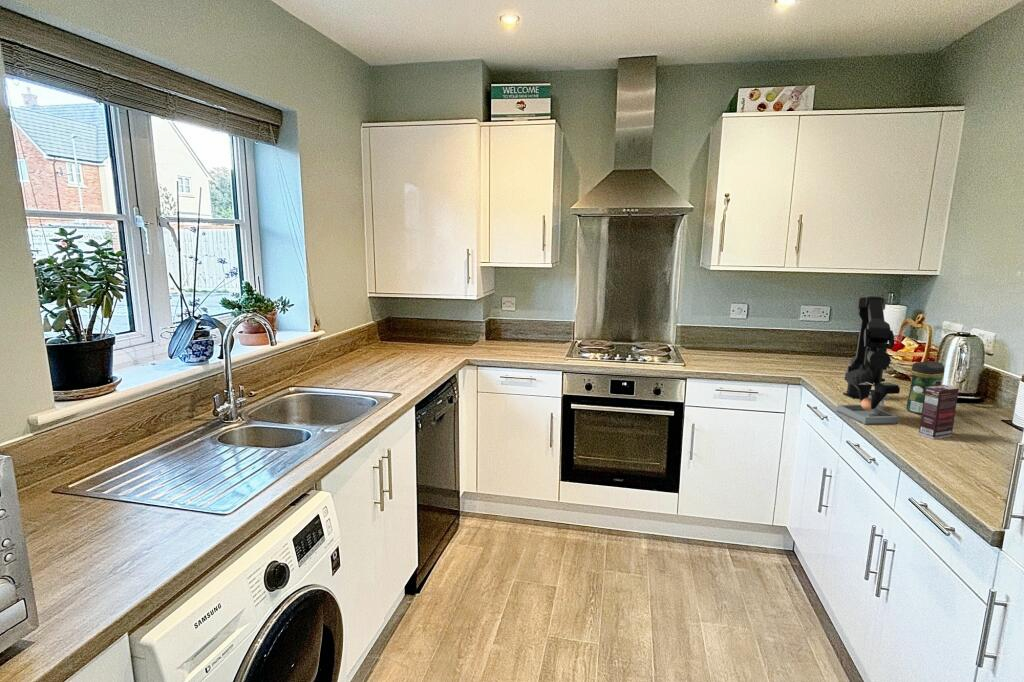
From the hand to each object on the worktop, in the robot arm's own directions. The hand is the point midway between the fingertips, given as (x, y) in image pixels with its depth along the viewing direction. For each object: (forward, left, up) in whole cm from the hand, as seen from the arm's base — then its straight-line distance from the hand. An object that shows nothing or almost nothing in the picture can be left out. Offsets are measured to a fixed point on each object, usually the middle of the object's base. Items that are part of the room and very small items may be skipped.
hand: (867, 406), depth 188 cm
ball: (0, 0, -1) cm, 1 cm away
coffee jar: (-5, +25, -4) cm, 26 cm away
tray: (0, 0, -4) cm, 4 cm away
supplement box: (+18, +9, -4) cm, 21 cm away
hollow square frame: (-10, +11, -4) cm, 15 cm away
